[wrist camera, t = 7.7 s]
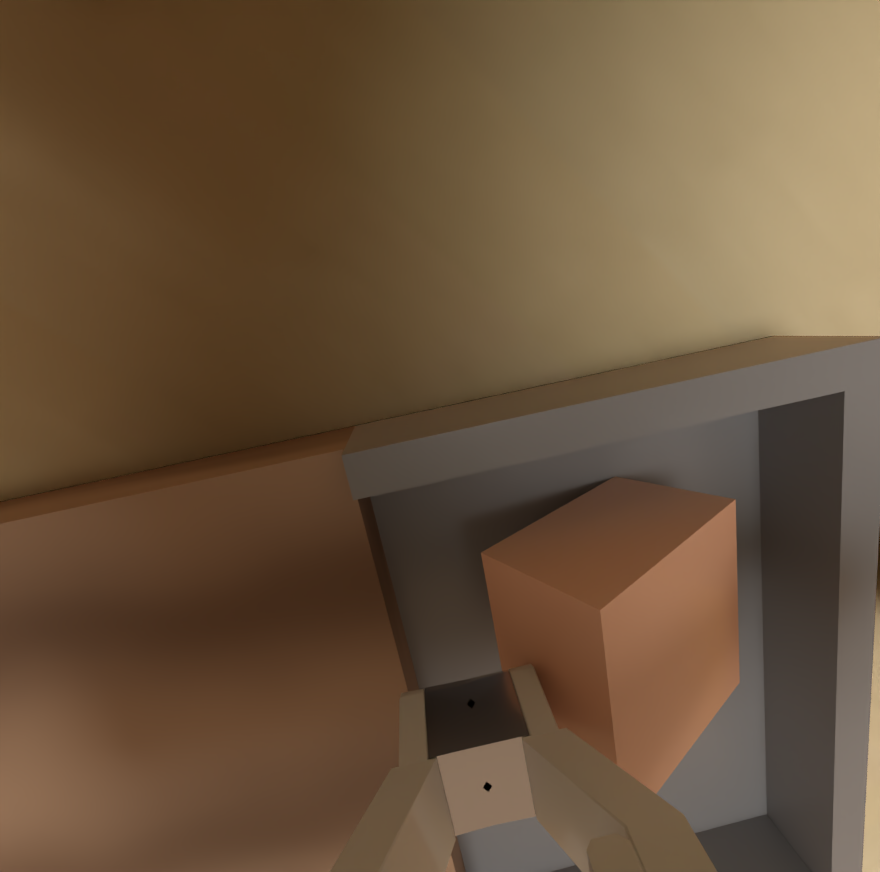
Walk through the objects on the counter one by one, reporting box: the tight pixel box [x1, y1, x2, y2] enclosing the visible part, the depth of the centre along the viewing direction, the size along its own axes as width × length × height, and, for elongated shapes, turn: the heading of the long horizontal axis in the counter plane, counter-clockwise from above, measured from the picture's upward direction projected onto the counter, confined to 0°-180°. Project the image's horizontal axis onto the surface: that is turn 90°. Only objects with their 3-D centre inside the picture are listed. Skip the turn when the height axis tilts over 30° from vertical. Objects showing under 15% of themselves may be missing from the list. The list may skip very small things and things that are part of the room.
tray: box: [341, 336, 880, 872], centre depth 13 cm, size 18×12×3 cm, turn 11°
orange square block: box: [481, 477, 740, 794], centre depth 10 cm, size 5×5×3 cm
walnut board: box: [0, 426, 466, 872], centre depth 12 cm, size 18×13×2 cm
